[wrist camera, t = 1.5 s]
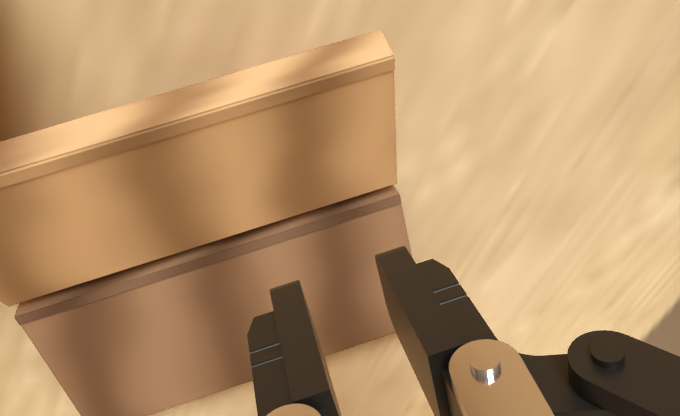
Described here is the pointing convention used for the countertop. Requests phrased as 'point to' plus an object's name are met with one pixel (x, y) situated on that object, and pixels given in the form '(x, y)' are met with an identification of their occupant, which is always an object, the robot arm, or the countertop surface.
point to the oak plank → (195, 165)
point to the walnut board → (214, 307)
